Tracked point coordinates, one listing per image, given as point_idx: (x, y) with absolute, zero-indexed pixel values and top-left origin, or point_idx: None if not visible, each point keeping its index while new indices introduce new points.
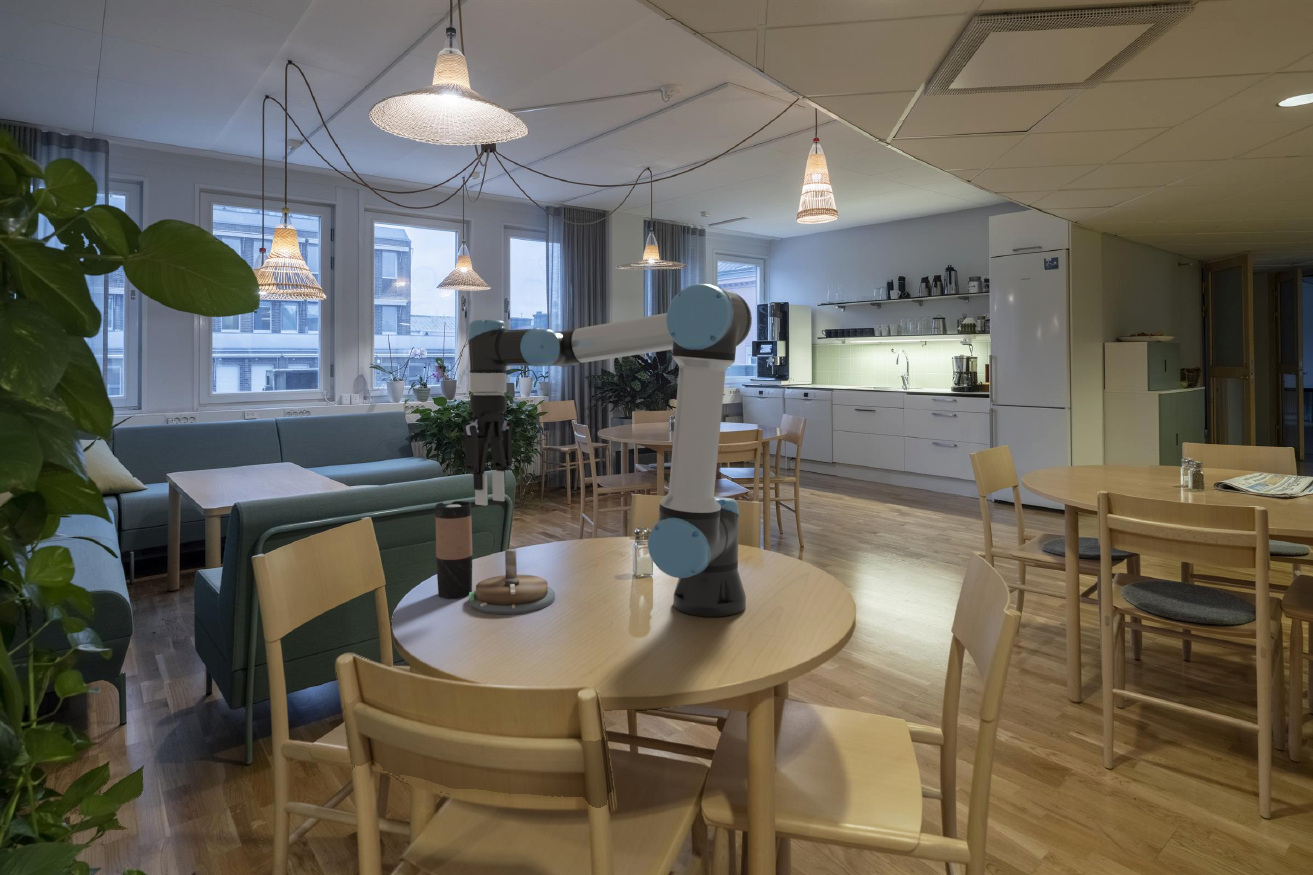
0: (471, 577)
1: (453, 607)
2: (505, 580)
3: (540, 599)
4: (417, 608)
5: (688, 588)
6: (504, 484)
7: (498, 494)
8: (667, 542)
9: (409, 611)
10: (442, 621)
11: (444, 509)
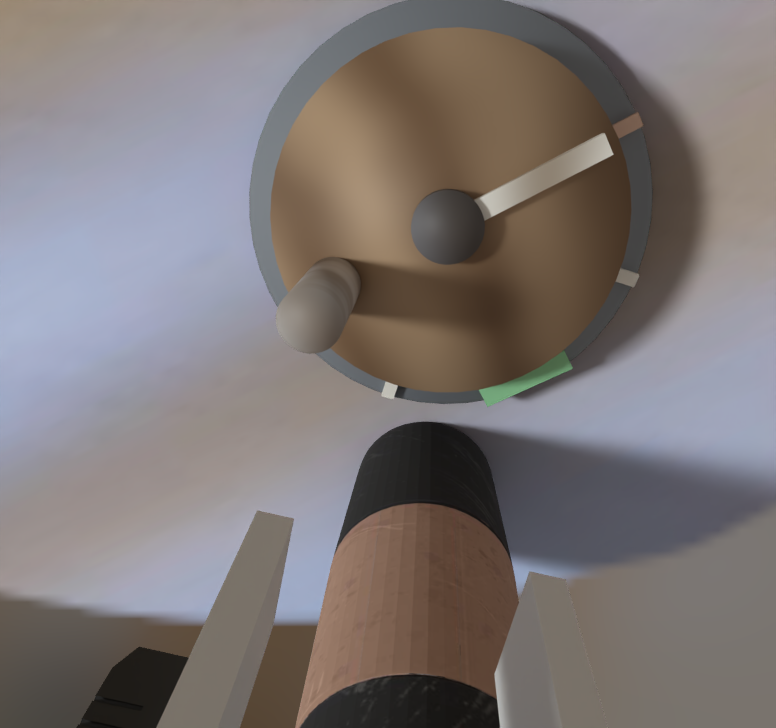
0: (406, 452)
1: (588, 410)
2: (451, 262)
3: None
4: (624, 528)
5: None
6: (146, 649)
7: (268, 607)
8: None
9: (662, 538)
10: (761, 370)
11: None
